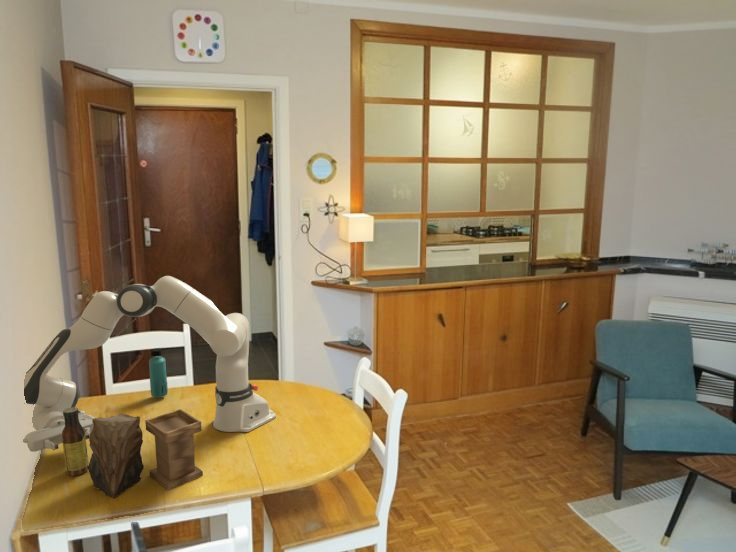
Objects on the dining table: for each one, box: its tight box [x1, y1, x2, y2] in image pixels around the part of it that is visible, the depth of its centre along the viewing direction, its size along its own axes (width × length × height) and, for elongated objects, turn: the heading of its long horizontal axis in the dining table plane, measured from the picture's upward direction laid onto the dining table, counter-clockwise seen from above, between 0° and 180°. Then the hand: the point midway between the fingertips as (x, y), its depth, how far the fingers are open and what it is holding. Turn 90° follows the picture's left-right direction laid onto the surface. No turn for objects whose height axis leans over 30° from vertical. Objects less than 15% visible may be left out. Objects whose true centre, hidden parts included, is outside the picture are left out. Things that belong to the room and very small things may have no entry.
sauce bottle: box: [62, 406, 90, 477], centre depth 177 cm, size 6×6×20 cm
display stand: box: [144, 409, 204, 491], centre depth 176 cm, size 11×12×18 cm
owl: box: [87, 413, 144, 499], centre depth 172 cm, size 13×13×20 cm
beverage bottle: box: [148, 348, 169, 398], centre depth 232 cm, size 6×7×20 cm
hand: (72, 441), depth 179 cm, fingers open, 8 cm apart
